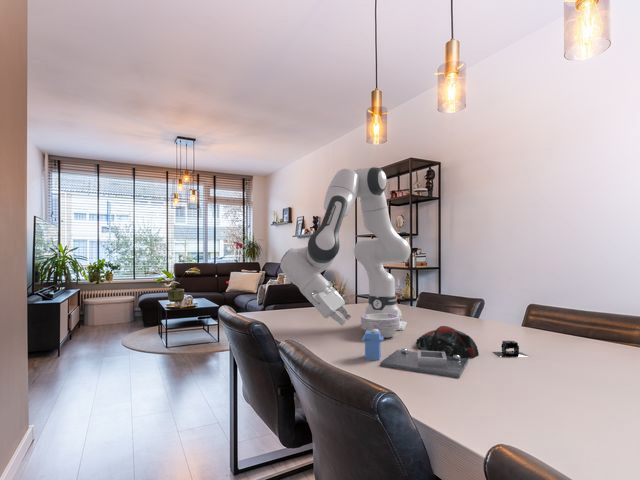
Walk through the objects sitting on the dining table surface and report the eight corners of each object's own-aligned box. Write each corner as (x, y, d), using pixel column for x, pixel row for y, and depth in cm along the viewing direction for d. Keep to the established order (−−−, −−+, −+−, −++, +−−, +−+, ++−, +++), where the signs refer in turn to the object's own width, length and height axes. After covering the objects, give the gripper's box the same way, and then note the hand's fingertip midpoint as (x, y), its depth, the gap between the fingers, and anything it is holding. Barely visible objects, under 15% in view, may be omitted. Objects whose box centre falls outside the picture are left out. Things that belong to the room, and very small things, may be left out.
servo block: (363, 355, 121) (363, 327, 121) (383, 356, 119) (383, 328, 120) (361, 359, 117) (361, 330, 117) (382, 360, 115) (382, 331, 116)
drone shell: (482, 360, 115) (482, 334, 115) (417, 356, 120) (416, 331, 120) (471, 343, 136) (470, 321, 136) (415, 341, 140) (415, 319, 140)
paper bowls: (355, 333, 154) (355, 313, 154) (388, 330, 158) (388, 311, 158) (371, 341, 139) (370, 320, 139) (407, 338, 144) (407, 317, 144)
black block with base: (495, 358, 118) (494, 344, 118) (486, 352, 125) (485, 338, 125) (535, 359, 117) (535, 344, 117) (524, 353, 124) (524, 339, 124)
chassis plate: (397, 352, 124) (397, 343, 124) (468, 362, 113) (468, 351, 113) (380, 365, 110) (380, 355, 110) (459, 377, 99) (459, 366, 99)
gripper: (315, 286, 113) (347, 320, 110) (330, 280, 133) (358, 309, 130) (301, 300, 114) (333, 334, 111) (318, 293, 134) (346, 322, 131)
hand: (346, 321), depth 121 cm, fingers open, 8 cm apart
